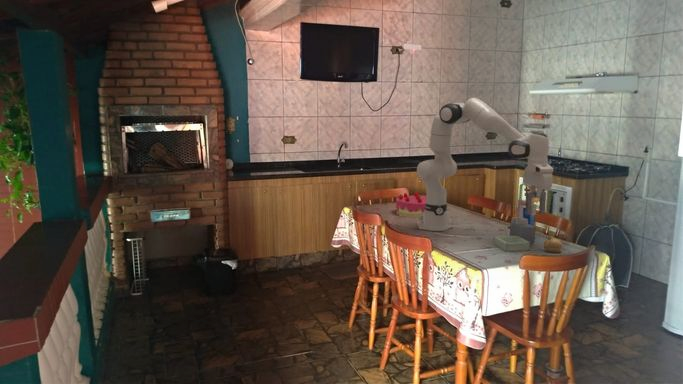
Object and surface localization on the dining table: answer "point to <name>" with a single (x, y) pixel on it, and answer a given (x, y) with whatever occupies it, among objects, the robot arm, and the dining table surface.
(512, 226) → the vise
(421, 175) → the robot arm
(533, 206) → the clamped hook
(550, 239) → the onion
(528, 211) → the loose hook
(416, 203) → the cake
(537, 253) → the dining table surface
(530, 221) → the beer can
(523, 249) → the bin
